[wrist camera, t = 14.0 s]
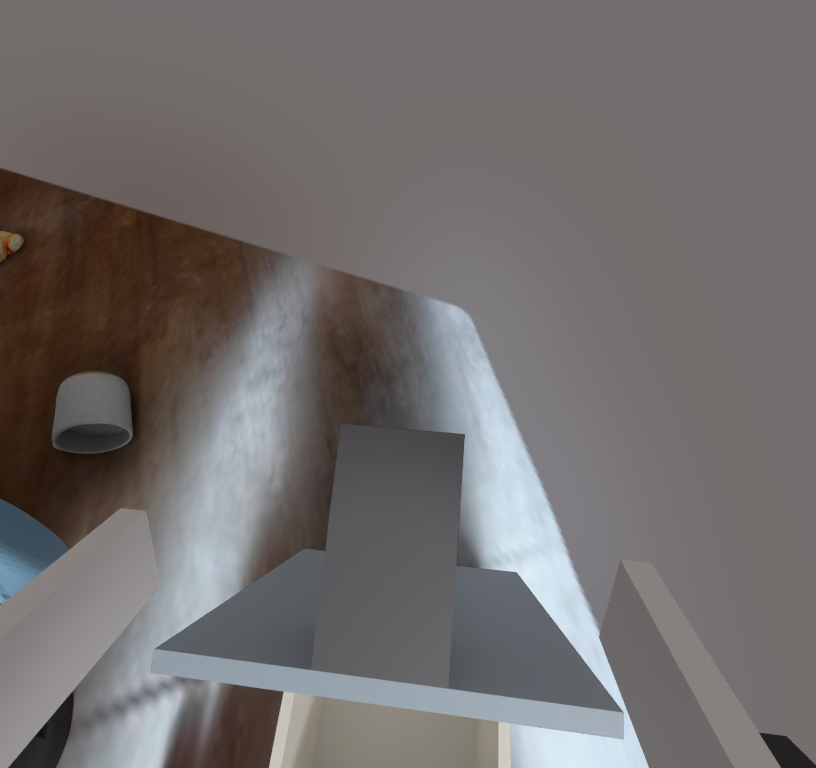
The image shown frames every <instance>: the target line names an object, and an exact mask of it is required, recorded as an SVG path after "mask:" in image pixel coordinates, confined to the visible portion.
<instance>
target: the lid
mask: <svg viewBox="0 0 816 768" xmlns="http://www.w3.org/2000/svg"><path fill="white" fill-rule="evenodd" d="M464 438H465V434H455V433H444V432H432V431H421V430H409V429H398V428H386V427H375V426H363V425H352V424H341V425H340V434H339V442H338V450H337V458H336V466H335V474H334V483H333V491H332V499H331V507H330V515H329V523H328V532H327V540H326V548H325V551H321V550H312V549H303V550H302V551H300V552H299V553H297V554H296V555H294V556H293V557H291V558H290V559H288V560H287V561H285V562H284V563H282V564H281V565H279V566H278V567H276V568H275V569H273V570H272V571H270V572H269V573H267V574H266V575H264V576H263V577H261V578H260V579H258V580H257V581H255V582H254V583H252V584H251V585H249V586H248V587H246V588H245V589H243V590H242V591H240V592H239V593H237V594H236V595H234V596H233V597H231V598H230V599H228V600H227V601H225V602H224V603H222V604H221V605H219V606H218V607H216V608H215V609H213V610H212V611H211V612H209V613H208V614H206V615H205V616H203V617H202V618H200V619H199V620H197V621H196V622H194V623H193V624H191V625H190V626H188V627H187V628H185V629H184V630H182V631H181V632H179V633H178V634H176V635H175V636H173V637H172V638H170V639H169V640H167V641H166V642H164V643H163V644H161V645H160V646H158V647H157V648H155V649H154V655H153V660H152V665H151V670H150V673H156V674H163V675H170V676H178V677H185V678H192V679H199V680H206V681H213V682H220V683H227V684H234V685H242V686H249V687H256V688H263V689H270V690H277V691H284V692H291V693H298V694H306V695H313V696H320V697H327V698H334V699H341V700H348V701H355V702H362V703H369V704H377V705H384V706H391V707H398V708H405V709H412V710H419V711H426V712H433V713H441V714H448V715H455V716H462V717H469V718H476V719H483V720H490V721H497V722H505V723H512V724H519V725H526V726H533V727H540V728H547V729H554V730H561V731H569V732H576V733H583V734H590V735H597V736H604V737H611V738H618V739H624V713H623V711H622V710H621V709H620V707H619V706H618V705H617V703H616V702H615V701H614V699H613V698H612V697H611V695H610V694H609V693H608V692H607V690H606V689H605V688H604V686H603V685H602V684H601V682H600V681H599V680H598V678H597V677H596V676H595V675H594V673H593V672H592V671H591V669H590V668H589V667H588V665H587V664H586V663H585V661H584V660H583V659H582V657H581V656H580V655H579V654H578V652H577V651H576V650H575V648H574V647H573V646H572V644H571V643H570V642H569V640H568V639H567V638H566V636H565V635H564V634H563V633H562V631H561V630H560V629H559V627H558V626H557V625H556V623H555V622H554V621H553V619H552V618H551V617H550V615H549V614H548V613H547V612H546V610H545V609H544V608H543V606H542V605H541V604H540V602H539V601H538V600H537V598H536V597H535V596H534V595H533V593H532V592H531V591H530V589H529V588H528V587H527V585H526V584H525V583H524V581H523V580H522V579H521V577H520V576H519V575H518V574H517V572H509V571H500V570H491V569H482V568H473V567H464V566H456V561H457V546H458V530H459V515H460V500H461V484H462V469H463V453H464Z"/></svg>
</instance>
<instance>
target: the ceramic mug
mask: <svg viewBox="0 0 816 768" xmlns="http://www.w3.org/2000/svg"><path fill="white" fill-rule="evenodd" d="M132 437H133V427H132V414H131V400H130V392H129V389H128V386H127V384H126V382H125V381H124V380H123V379H122V378H120V377H118V376H117V375H114V374H111V373H107V372H101V371H86V372H81V373H77V374H74V375H71V376H70V377H68V378H66V379H65V380H64V381H63V382H62V383H61V385H60V387H59V390H58V393H57V397H56V409H55V416H54V423H53V430H52V444H53V446H54V447H55V448H56V449H58V450H64V451H68V452H72V453H81V454H91V453H102V452H107V451H111V450H115V449H118V448H120V447H123V446H124V445H126V444H128V443H129V442H130V441H131V439H132Z"/></svg>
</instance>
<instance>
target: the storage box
mask: <svg viewBox="0 0 816 768" xmlns="http://www.w3.org/2000/svg"><path fill="white" fill-rule="evenodd" d="M269 768H511V763H510V723H505V722H497V721H490V720H483V719H476V718H469V717H462V716H455V715H448V714H441V713H433V712H426V711H419V710H412V709H405V708H398V707H391V706H384V705H377V704H369V703H362V702H355V701H348V700H341V699H334V698H327V697H320V696H313V695H306V694H298V693H291V692H284V693H283V698H282V703H281V709H280V714H279V719H278V724H277V729H276V735H275V740H274V745H273V750H272V755H271V760H270V766H269Z"/></svg>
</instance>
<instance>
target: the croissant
mask: <svg viewBox="0 0 816 768" xmlns="http://www.w3.org/2000/svg"><path fill="white" fill-rule="evenodd" d="M23 241H24V240H23V238H22V237H21V236H20V235H19V234H12V233H8V232H5V231H0V263H1V262H2V261H3V260H5V259H6V256H7V255H11V254H14V253H15V252H16V251H17V250H18V249H20V248H21V246H22V245H23Z"/></svg>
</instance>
